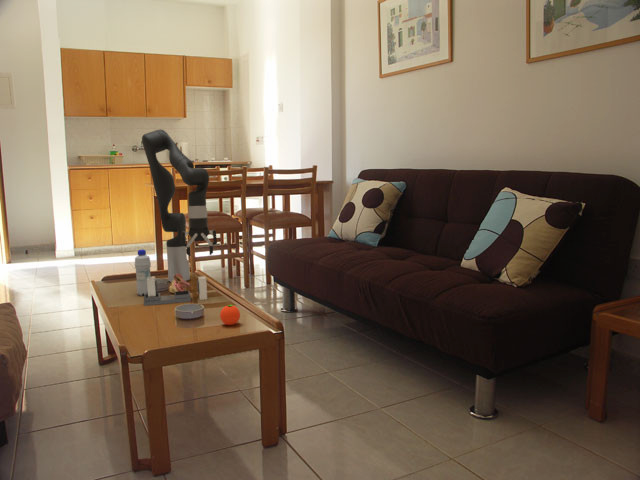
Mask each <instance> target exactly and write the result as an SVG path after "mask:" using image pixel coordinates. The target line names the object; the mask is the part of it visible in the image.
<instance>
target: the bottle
mask: <svg viewBox="0 0 640 480" xmlns="http://www.w3.org/2000/svg"><path fill="white" fill-rule="evenodd" d="M146 252H147V251H146V250H145V249H139V250H137V256H136V257H135V258H134V269H135V276H136V292H137V295H138V296H144V295H145V294H148V287H147V277H152V276H151V266H152V265H151V263H152V262H151V259H150V256H149V255H147V253H146Z"/></svg>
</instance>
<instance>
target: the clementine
mask: <svg viewBox="0 0 640 480" xmlns="http://www.w3.org/2000/svg"><path fill="white" fill-rule="evenodd" d="M219 317H220V318H219V319H220V321H221V322H222V323H223V324H225V325H226V326H234V325H235V324H237V323H238V322H239V320H240V318H241V312H240V310H239V308H238V307H237V306H236V305H233V304H228V305H226V306H224V307H222V309H221V311H220V314H219Z"/></svg>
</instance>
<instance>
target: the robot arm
mask: <svg viewBox="0 0 640 480" xmlns="http://www.w3.org/2000/svg"><path fill="white" fill-rule="evenodd" d="M141 142H142V148H143V150H144V153H145V157H146V159H147V162H148V166H149V170H150V174H151V179H152V180H151V181H152V184H153V187H154V188H153V189H154V192H155V196H156V199H157V204H158V209H159V215H160V217H159V218H160V222H161V227H162V230H163V231H164V232H166V233H177V235H176V236H174V237H172V238H170V239H168V240H166V241H165V242H166V260H167V272H168V273H167V275H168V277H167V278H168V282H169V281H170V282H169V283H172V280H174V279H173V277H174V275H175V274H177V273H178V274H181V275H182V277H183V280H184V281H186V282H187V281H189V280H191V279H190V273H191V272H190V261H189V260H188V257H191V255H192V254H191V245H192V244H193V242H204V241H206V243H207V244H208V247H209V248H208V249H209V250H208V251H209V256H212V254H213V253H214V246H215V245H217V244H218V239H217V230H216V229H212V230H211V229H210V230H209V223H208V208H207V199H206V198H207V191H208V187H209V181H210V175H209V172H208V171H207V169H206V168H203V167H195V165H194V163H193V162H192V160H191V159H190V158H189V157H187V155H185V154H184V153H183V152H182V151H181V149H180V148H179V146H178V145H177V144H176V143H175V141H174V140H173V138H172V137H171V136H170V134H168V132H167V131H166V130H164V129H161V128H159V129H156V130H153V131H150V132H146V133H144V134H143V135H142V136H141ZM167 150H168V151H169V156H168V157H169V163H170V165H171V167H173V169H175V171H176V172H177V173H179V175H180V177H181V179H182V181H183V183H184V184H186V185H187V186H196V188H195V190H193V191H190V192H189V193H188V196H187V197H188V198H187V199H188V226H189V227H188V231H187V228H186V227H187V225H186V224H187V222H186V221H187V220H186V216H185V214H184V212H169V209H168V208H169V205H170V202H171V201H172V198H173V197H174V195H175V193H176V184H175V180H174V176H173V174H172V173H171V172H170V171H169V170H168V169H167V168H166V167H165V166H163V165H162V163H160V161H159V160H158V157H157V153H161V152H164V151H167ZM209 235H211V236H212V238H213V241H211V240H210V239H209V238H208V236H209ZM187 236H189V237H190V239H189V240H188V242H187Z"/></svg>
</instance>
